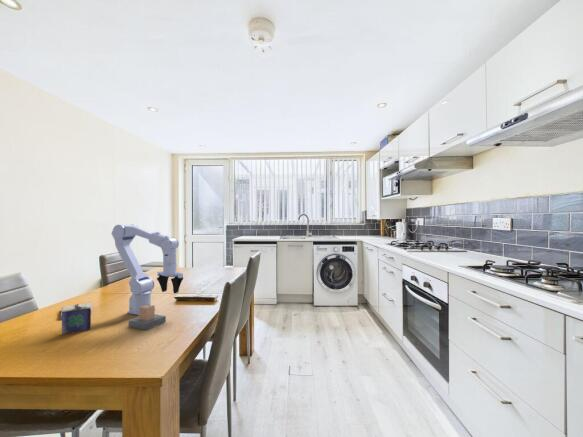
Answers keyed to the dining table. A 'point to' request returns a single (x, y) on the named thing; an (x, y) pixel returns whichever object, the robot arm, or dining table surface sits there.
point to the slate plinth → (147, 322)
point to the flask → (76, 319)
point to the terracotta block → (147, 312)
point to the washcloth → (74, 308)
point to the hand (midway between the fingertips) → (170, 292)
